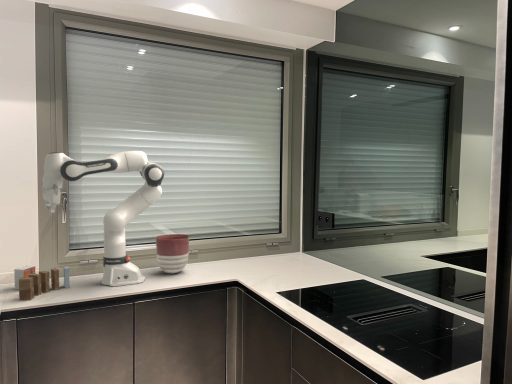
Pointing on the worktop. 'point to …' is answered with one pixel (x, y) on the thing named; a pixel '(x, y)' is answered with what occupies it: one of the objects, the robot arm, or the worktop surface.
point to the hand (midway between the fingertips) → (50, 211)
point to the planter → (172, 252)
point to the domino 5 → (66, 277)
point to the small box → (22, 274)
